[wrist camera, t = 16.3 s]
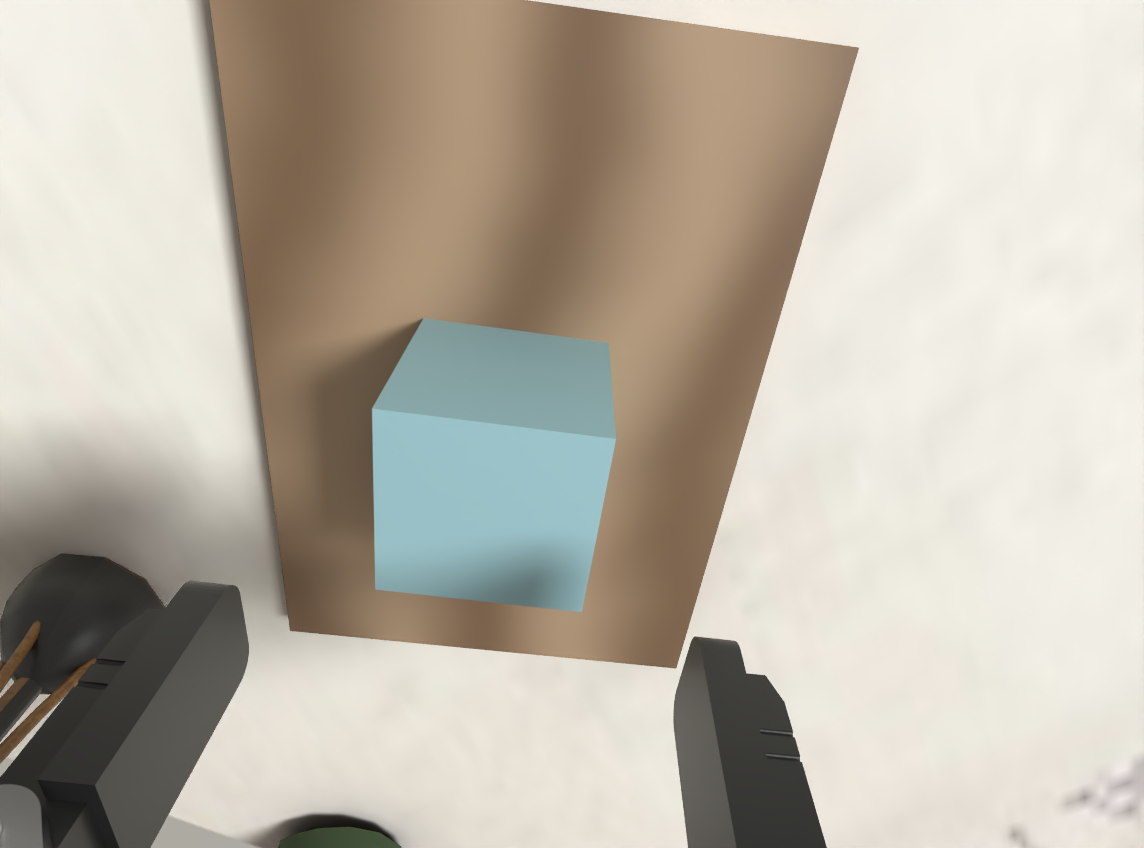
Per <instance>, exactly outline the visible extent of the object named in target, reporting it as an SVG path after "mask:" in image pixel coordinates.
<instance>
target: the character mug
mask: <svg viewBox="0 0 1144 848" xmlns="http://www.w3.org/2000/svg"><path fill="white" fill-rule="evenodd" d="M278 848H401V846H399V845H398V844H396V843H395V842H393V841H392V840H390V839H389V838H387V837H386V836H384V835H383V834H381V833H379V832H374V831H369V830H364V829H359V828H354V827H333V828H317V829H313V830H309V831H305V832H301V833H296V834H293V835H291V836H289V837H287V838H285V839H283V840H281V841H280V844H279V847H278Z"/></svg>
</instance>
